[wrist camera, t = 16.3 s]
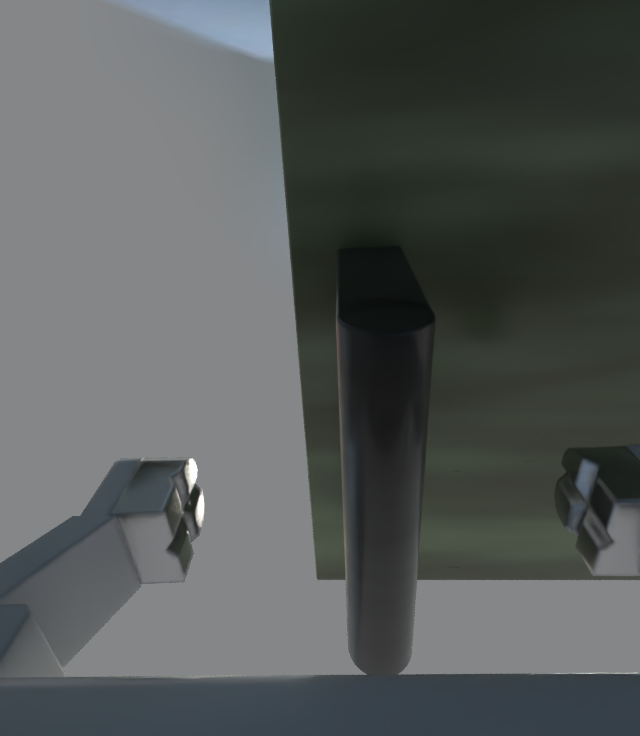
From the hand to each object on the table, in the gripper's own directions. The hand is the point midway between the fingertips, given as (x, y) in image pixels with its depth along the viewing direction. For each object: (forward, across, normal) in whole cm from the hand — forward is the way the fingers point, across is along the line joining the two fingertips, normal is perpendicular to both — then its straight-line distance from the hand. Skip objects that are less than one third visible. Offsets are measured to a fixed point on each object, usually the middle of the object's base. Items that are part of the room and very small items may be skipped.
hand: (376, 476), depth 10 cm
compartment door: (+2, -7, -9) cm, 12 cm away
